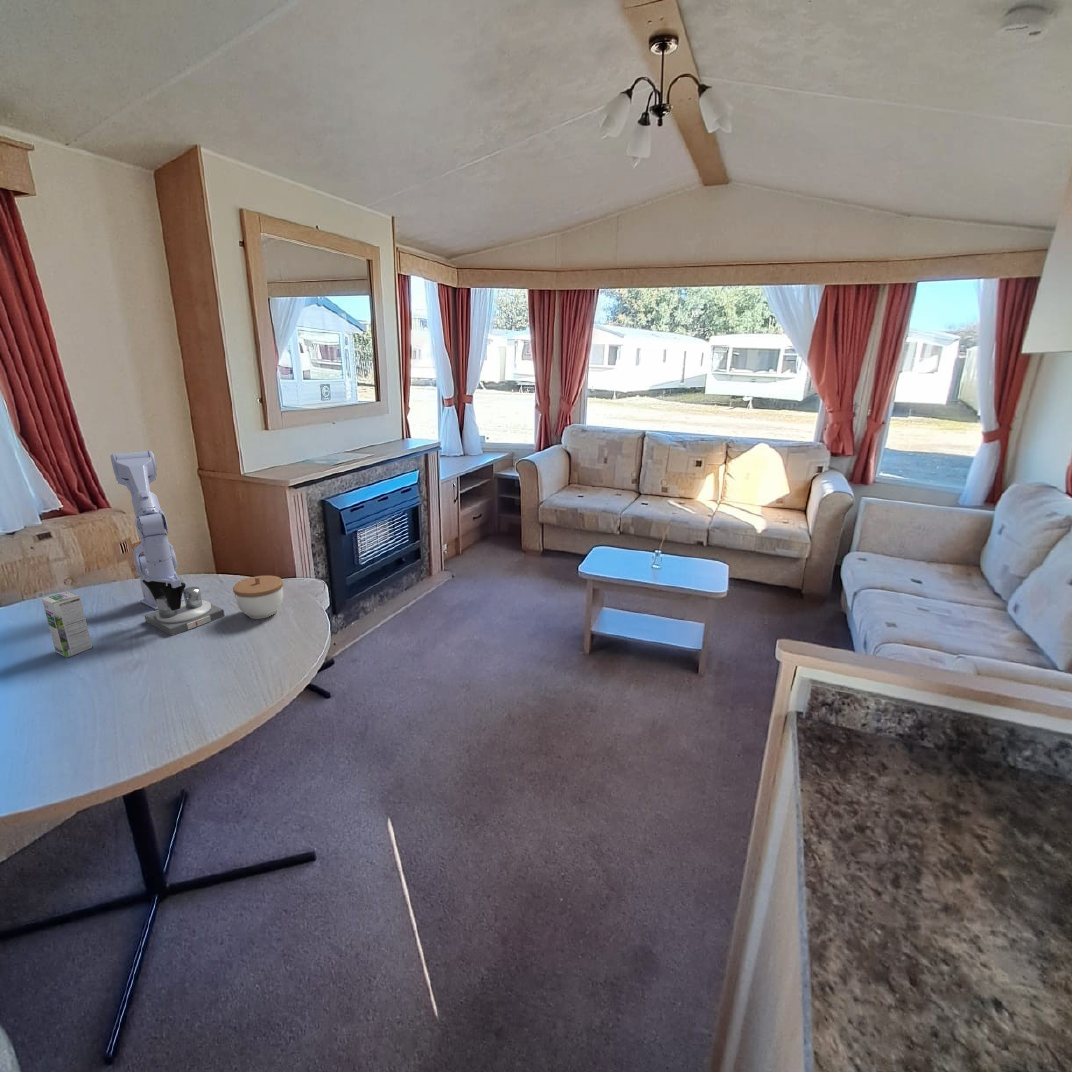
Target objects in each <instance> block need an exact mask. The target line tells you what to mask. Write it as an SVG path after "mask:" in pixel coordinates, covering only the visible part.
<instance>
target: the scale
mask: <svg viewBox="0 0 1072 1072" xmlns="http://www.w3.org/2000/svg"><path fill="white" fill-rule="evenodd" d="M202 604H203V605H202V606H201V607H199V608H196V609H187V608H186V605H185V600H184V601H181V608H180V609H177V615H175V616H173V617H170V618H160V616H159V611H158V610H155V611H152V612H149V613H147V614H144V615H143V616H144V620H145V622H146V623H148V624H149V625H151V626H153V627H155V628H157V629H158V630H160V631H162V632H164V633H166V634H167V635H170V636H171V637H172V636H175V635H178V634H181V633H183V632H186V631H188V630H191V629H193V628H194V629H195V628H196V627H199V626H202V625H204V624H207V623H209V622H212V621H215V620H217V619H221V618H222V617H225V610H224V608H222V607H219V606H217V605H214V604H213V603H211V602H209V601H208V600H204V599H202Z"/></svg>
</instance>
